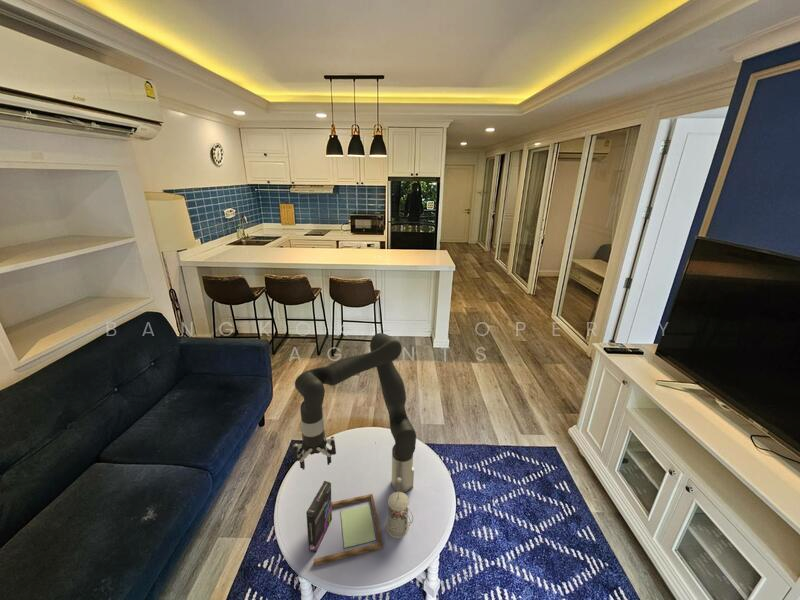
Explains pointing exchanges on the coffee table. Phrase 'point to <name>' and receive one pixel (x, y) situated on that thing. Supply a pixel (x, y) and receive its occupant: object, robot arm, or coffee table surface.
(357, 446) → the coffee table surface
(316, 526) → the box
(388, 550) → the coffee table surface
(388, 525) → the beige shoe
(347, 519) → the bay
